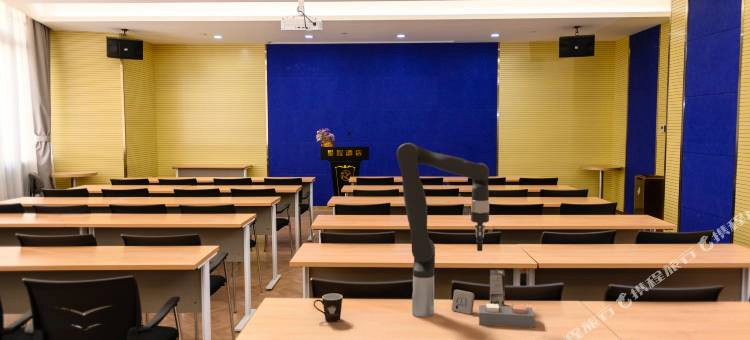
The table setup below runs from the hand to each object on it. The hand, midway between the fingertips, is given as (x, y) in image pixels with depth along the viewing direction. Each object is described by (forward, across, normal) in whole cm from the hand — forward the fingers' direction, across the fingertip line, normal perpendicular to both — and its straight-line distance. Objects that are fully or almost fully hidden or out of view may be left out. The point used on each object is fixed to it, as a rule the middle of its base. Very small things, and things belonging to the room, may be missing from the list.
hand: (479, 250), depth 240 cm
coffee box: (+29, -14, +8) cm, 33 cm away
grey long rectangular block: (+29, +4, +11) cm, 31 cm away
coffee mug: (+29, +13, -63) cm, 71 cm away
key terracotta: (+27, +4, +16) cm, 32 cm away
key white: (+27, +4, +6) cm, 28 cm away
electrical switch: (+29, -6, -7) cm, 31 cm away
